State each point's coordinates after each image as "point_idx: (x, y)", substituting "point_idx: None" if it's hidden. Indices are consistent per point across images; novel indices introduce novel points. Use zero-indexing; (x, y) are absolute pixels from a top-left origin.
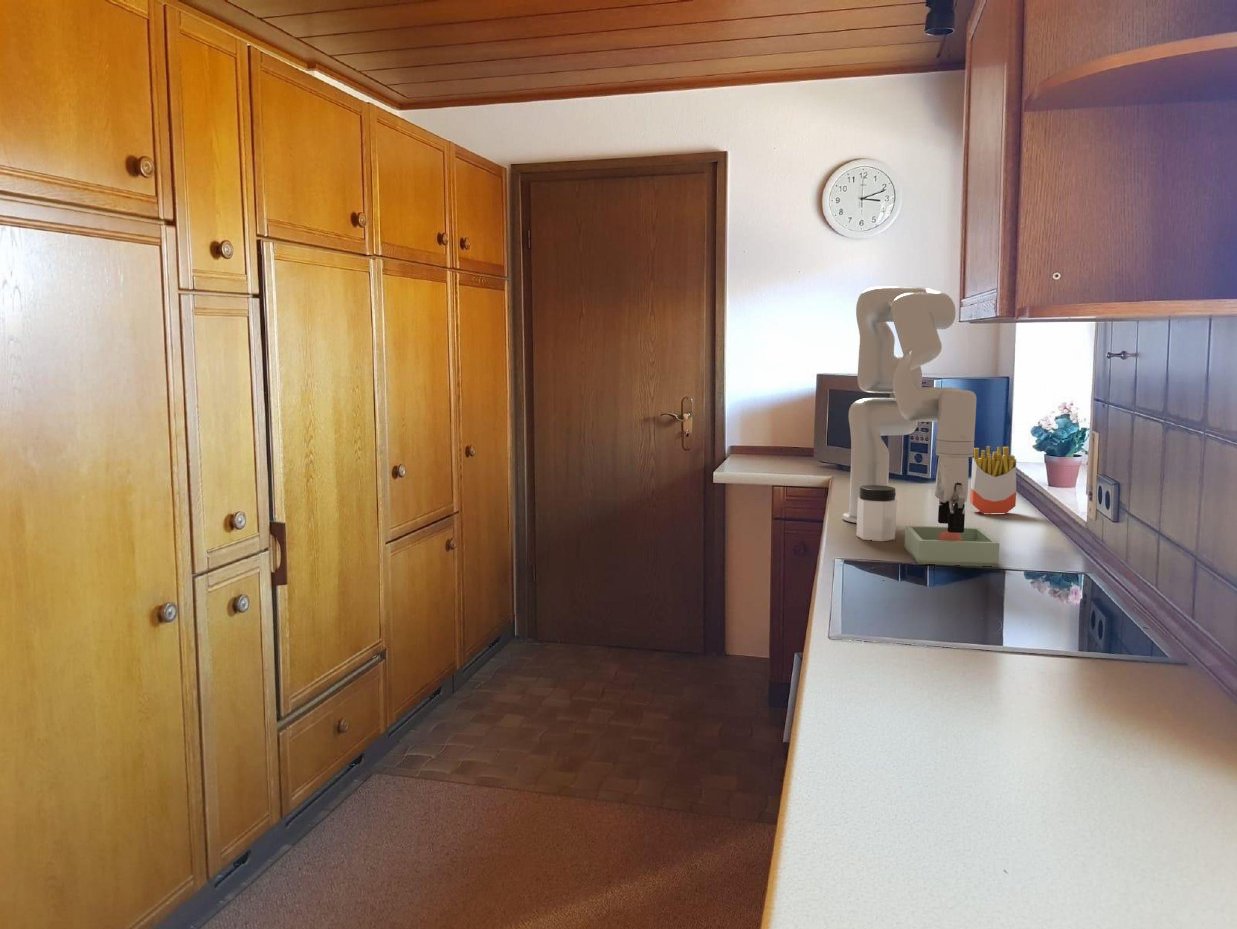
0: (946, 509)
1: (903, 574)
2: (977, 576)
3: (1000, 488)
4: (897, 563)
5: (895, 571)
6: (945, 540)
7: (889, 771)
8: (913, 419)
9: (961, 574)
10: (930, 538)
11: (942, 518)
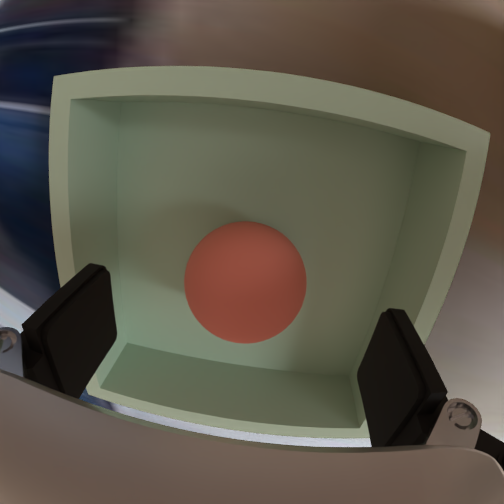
0: (390, 409)
1: (11, 38)
2: (13, 242)
3: None
4: (130, 14)
5: (37, 14)
6: (195, 251)
7: None
8: None
9: (19, 205)
10: (413, 240)
11: (384, 344)
